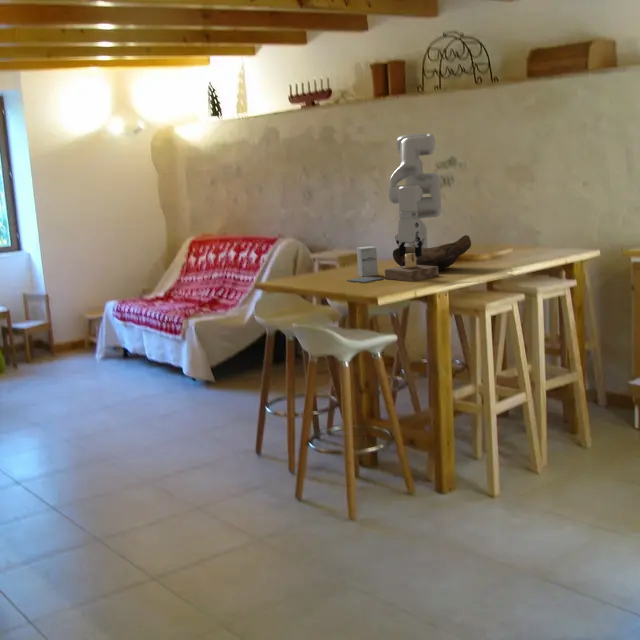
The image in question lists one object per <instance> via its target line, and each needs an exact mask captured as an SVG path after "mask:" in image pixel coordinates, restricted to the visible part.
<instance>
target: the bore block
mask: <svg viewBox="0 0 640 640" xmlns="http://www.w3.org/2000/svg"><path fill="white" fill-rule="evenodd" d="M434 277H439V270H438V266H426V265H417V268H416V269H405V266H397V267H396V266H395V267H391V268H386V269H384V279H385V280H393V279H397V280H396V281H403V280H405V281H406V282H415V281H420V280H424V279H425V280H426V279H430V278H434ZM414 280H415V281H414ZM405 281H404V282H405Z"/></svg>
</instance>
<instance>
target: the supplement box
mask: <svg viewBox="0 0 640 640" xmlns="http://www.w3.org/2000/svg"><path fill="white" fill-rule="evenodd" d="M377 256H378V255H377V247H376V246H372V245H371V246H370V245H369V246H359V247H356V258H357V259H356V260H357V273H358V276H360V277H363V276H364V277H366V276H368V277H374V276H378V275H379V274H378V260H377V259H378V257H377ZM373 275H374V276H373Z"/></svg>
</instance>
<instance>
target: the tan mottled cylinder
mask: <svg viewBox="0 0 640 640" xmlns="http://www.w3.org/2000/svg"><path fill="white" fill-rule="evenodd" d="M416 268H417V257H415V253H409V254H405V269H416Z"/></svg>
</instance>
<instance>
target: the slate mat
mask: <svg viewBox="0 0 640 640" xmlns="http://www.w3.org/2000/svg"><path fill="white" fill-rule="evenodd" d="M382 279H383V280H384V277H379V276H378V277H376V276H364V277H362V276H360V277H356V278H352V279H347V280H346V281H347V282H348V281H350V282H349V283H357V282H359V283H360V284H365V283H366V284H367V283H371V282H372V281H373V282H378V281H382ZM377 280H378V281H377ZM373 282H372V283H373Z"/></svg>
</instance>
